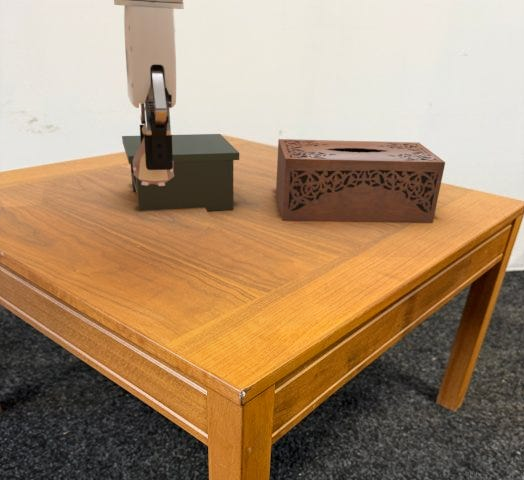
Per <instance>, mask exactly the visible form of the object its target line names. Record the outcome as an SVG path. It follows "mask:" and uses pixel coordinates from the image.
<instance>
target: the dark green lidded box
mask: <svg viewBox="0 0 524 480" xmlns="http://www.w3.org/2000/svg"><path fill="white" fill-rule="evenodd" d="M171 135H172V154H173V172H174V177H173V178H172V179H170V180H169V181H167V182H166V183H165V186H159V185H156V184H149V185H147V186H146V185H141V183H142V182H141V181H140V180H139V179H138V178H137V177H135V176H134V175H133V172H134V170H133V158H134V156H135V154H136V151H137V150H138V148H139V146H140V145H141V139H140V135H122V136H121V140H122V145H123V148H124V152H125V155H126V159H127V162H128V164H129V167H130V175H131V176H130V177H131V186H132V192H135V193H136V197H137V205H138V210H139V212H144V211H161V210H162V211H164V210H180V209H182V210H183V209H200V208H201V209H202V208H204V209H205V210H206V212H217V211H218V212H219V211H233V210H234V161H239V160H240V152H239V150H237V148H235V147H234V146H233V145H232V143H230V142H229V140H227V139H226V138H225V137H224V136H223V135H222V134H221V133H197V134H196V133H194V134H171Z"/></svg>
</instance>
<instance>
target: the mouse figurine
mask: <svg viewBox="0 0 524 480" xmlns="http://www.w3.org/2000/svg"><path fill="white" fill-rule="evenodd" d="M143 125H144V126H143V128H142V132H143V134H147V133H146V124H143ZM133 170H134V172H133V175H134V176H135V177H137V178H138V179H139V180H140V181H141V182H142V183H141V185H146V186H147V185H149V184H156V185H159V186H165V183H166V182H167V181H169V180H170V179H172V178H173V177H174V172H173V168H172V169H171V170H148V169H147V168H146V159H145V142H144V138H143V141H142V143H141V145H140V146H139V148H138V150H137V151H136V154H135V156H134V158H133Z"/></svg>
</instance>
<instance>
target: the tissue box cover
mask: <svg viewBox="0 0 524 480" xmlns="http://www.w3.org/2000/svg"><path fill="white" fill-rule="evenodd" d="M276 163H277V164H276V182H275V183H276V184H275V196H276V200H277V205H278V208H279V213H280V217H281V221H292V222H293V221H295V222H296V221H300V222H301V221H302V222H303V221H304V222H314V221H315V222H363V223H366V222H369V223H371V222H372V223H427V224H429V223H431V224H432V223H434V219H435V213H436V209H437V205H438V199H439V194H440V190H441V185H442V180H443V176H444V171H445V166H446V162H445V160H443V159H441V158H440V157H439V156H438V155H436V154H435V153H434V152H432V151H431V150H430V149H429V148H427V147H426V146H425V145H423V144H422V143H420V142H416V141H415V142H413V141H411V142H410V141H375V140H373V141H372V140H368V141H367V140H333V139H332V140H331V139H295V138H294V139H290V138H287V139H285V138H278V141H277V161H276Z"/></svg>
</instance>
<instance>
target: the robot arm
mask: <svg viewBox="0 0 524 480" xmlns="http://www.w3.org/2000/svg"><path fill="white" fill-rule="evenodd" d="M113 4H114V5H115V6H124V8H123V10H124V13H123V24H124V25H123V26H124V27H123V28H124V31H123V32H124V51H125V66H126V84H127V85H126V87H127V89H126V90H127V97H128V99H129V101H130V103H131V105H132V106H133V107H135V109H139V112H140V124H139V136H140V139H141V143H142V141H143V138H144V142H145V159H146V168H147V169H148V170H171V169H172V168H173V154H172V135H173V134H172V131H171V130H172V129H171V116H170V114H171V113H170V112H171V111H170V109H172V108H174V107H175V105H176V104H177V103H176V102H177V52H176V51H177V50H176V49H177V48H176V47H177V46H176V28H175V27H176V26H175V25H176V24H175V10H185V0H113ZM144 124H146V133H147V134H143V132H142V128H143V126H144Z"/></svg>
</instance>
